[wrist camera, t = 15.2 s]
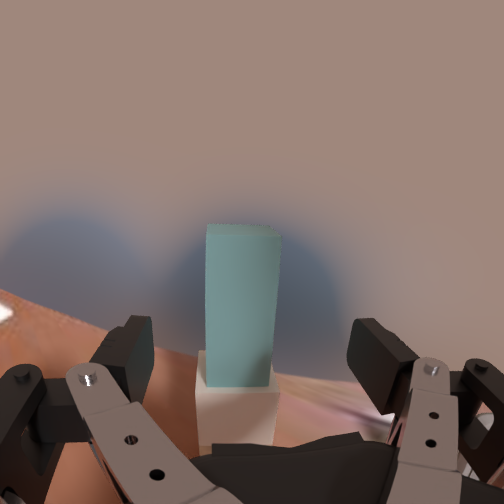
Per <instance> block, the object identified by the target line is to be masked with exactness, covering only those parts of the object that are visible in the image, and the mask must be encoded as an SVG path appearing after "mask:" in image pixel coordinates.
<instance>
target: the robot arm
mask: <svg viewBox="0 0 504 504" xmlns="http://www.w3.org/2000/svg"><path fill="white" fill-rule="evenodd" d="M347 363H348V366H349V368H350V369H351V371H352V372H353V374H354V375H355V377H356V378H357V380H358V381H359V383H360V384H361V386H362V387H363V389H364V390H365V392H366V393H367V395H368V396H369V398H370V399H371V401H372V402H373V404H374V405H375V407H376V408H377V410H378V411H379V413H380V414H381V415H386V414H390V413H395V416H394V418H393V421H392V424H391V427H390V430H389V434H388V437H387V440H386V443H381V442H375V441H364V440H363V439H362V437H361V435H360V433H359V432H353V433H347V434H341V435H335V436H328V437H324V438H321V439H318V440H315V441H312V442H309V443H306V444H303V445H300V446H296V447H292V448H286V447H276V446H268V445H260V444H253V443H212V454H207V455H202V456H198V457H195V458H192V459H189V460H188V459H187V458H186V457H185V456H184V455H183V454H182V453H181V451H180V450H179V449H178V448H177V447H176V446H175V445H174V444H173V443H172V441H171V440H170V439H169V438H168V437H167V436H166V435H165V433H164V432H163V431H162V430H161V429H160V428H159V426H158V425H157V424H156V423H155V421H154V420H153V419H152V418H151V417H150V415H149V414H148V413H147V412H146V410H145V409H144V408H143V406H142V402H143V399H144V396H145V392H146V389H147V386H148V383H149V380H150V376H151V373H152V370H153V366H154V344H153V333H152V321H151V318H150V317H149V316H135V315H131V316H130V318H129V319H128V321H127V323H126V324H125V326H124V327H116V328H114V329H113V330H111V331H110V332H108V334H107V335H106V337H105V338H104V340H103V341H102V343H101V344H100V346H99V347H98V349H97V350H96V352H95V353H94V355H93V357H92V358H91V360H90V361H89V363H82V364H78V365H76V366H74V367H72V368H70V369H69V370H68V372H67V373H66V378H60V379H44V378H43V375H42V372H41V370H40V368H38V367H37V366H35V365H32V364H20V365H16V366H14V367H12V368H10V369H9V370H7V371H6V372H5V374H4V375H3V376H2V377H1V379H0V504H44V502H45V498H46V495H47V492H48V489H49V486H50V483H51V480H52V477H53V475H54V472H55V469H56V466H57V463H58V461H59V458H60V455H61V453H62V450H63V448H64V445H65V443H69V442H88V444H89V446H90V448H91V450H92V452H93V454H94V456H95V458H96V459H97V461H98V463H99V465H100V467H101V469H102V470H103V472H104V474H105V476H106V477H107V479H108V481H109V483H110V484H111V486H112V488H113V490H114V491H115V493H116V495H117V497H118V498H119V500H120V502H121V503H122V504H504V374H503V373H501V372H500V371H499V370H498V369H497V368H496V367H494V366H493V365H492V364H491V363H489V362H487V361H485V360H482V359H469V360H467V361H466V363H465V366H464V369H463V371H449V368H448V366H447V365H446V364H445V363H443V362H442V361H440V360H437V359H434V358H427V357H425V358H420V357H418V355H416V354H415V353H414V352H413V351H412V350H411V349H410V348H409V347H408V346H406V345H405V343H404V342H403V341H400V339H399V338H398V337H397V336H396V335H395V334H394V333H392V332H390V331H388V330H386V329H385V328H384V327H382V326H381V325H380V324H379V323H378V322H377V321H376V320H375V319H374V318H363V319H356V320H355V321H354V323H353V326H352V331H351V336H350V341H349V345H348V350H347ZM482 402H484V403H485V405H486V406H487V407H488V408H489V409H490V410H491V411H492V412H493V415H494V421H493V424H492V426H491V428H490V429H489V431H488V430H487V429H486V427H485V426H484V425H483V424H482V423H481V422H480V420H479V419H478V418H477V417H476V414H477V412H478V410H479V408H480V406H481V404H482ZM24 429H25V431H24ZM23 431H24V433H23ZM22 433H23V434H22ZM21 435H22V436H21ZM458 450H459V451H460V453H461V454H462V455H463V457H464V458H465V460H466V461H467V463H468V464H469V465H470V467H471V468H472V470H473V471H474V473H475V474H476V475H477V477H478V478H479V480H480V481H478V480H475V479H473V478H470V477H467V476H464V475H462V474H461V473H460V472H459V471H458V470H457V455H458Z"/></svg>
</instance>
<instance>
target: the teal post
mask: <svg viewBox="0 0 504 504" xmlns="http://www.w3.org/2000/svg"><path fill="white" fill-rule="evenodd" d="M281 242H282V236H281V235H279V234H278V233H277V232H276V231H275V230H274V229H272V228H271V227H270V226H262V225H233V224H208V227H207V233H206V283H205V284H206V286H205V287H206V289H205V294H206V295H205V305H206V306H205V325H206V381H207V387H264V386H269V379H270V369H271V359H272V349H273V339H274V328H275V317H276V306H277V294H278V282H279V269H280V256H281Z"/></svg>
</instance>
